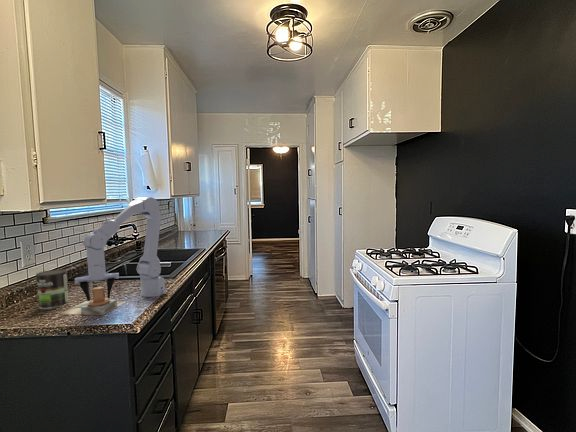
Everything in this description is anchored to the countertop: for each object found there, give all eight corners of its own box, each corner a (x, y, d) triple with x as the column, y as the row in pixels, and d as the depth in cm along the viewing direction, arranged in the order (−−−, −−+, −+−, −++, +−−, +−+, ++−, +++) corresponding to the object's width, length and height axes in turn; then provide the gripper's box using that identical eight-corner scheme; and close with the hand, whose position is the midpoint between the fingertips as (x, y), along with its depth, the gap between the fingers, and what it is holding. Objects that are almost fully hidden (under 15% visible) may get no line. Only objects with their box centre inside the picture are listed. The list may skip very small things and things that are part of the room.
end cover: (113, 306, 127) (112, 285, 126) (101, 313, 120) (100, 291, 120) (97, 306, 128) (96, 285, 127) (85, 312, 121) (83, 291, 120)
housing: (126, 304, 133) (125, 295, 132) (103, 317, 119) (102, 308, 118) (86, 303, 135) (85, 295, 134) (59, 316, 121) (58, 307, 120)
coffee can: (56, 309, 129) (53, 275, 128) (32, 309, 129) (29, 275, 128) (74, 300, 139) (72, 269, 138) (52, 300, 140) (49, 269, 138)
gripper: (118, 260, 129) (120, 293, 131) (75, 264, 123) (78, 299, 124) (117, 263, 123) (119, 298, 124) (72, 268, 117) (75, 304, 118)
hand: (99, 298), depth 124 cm, fingers open, 6 cm apart
